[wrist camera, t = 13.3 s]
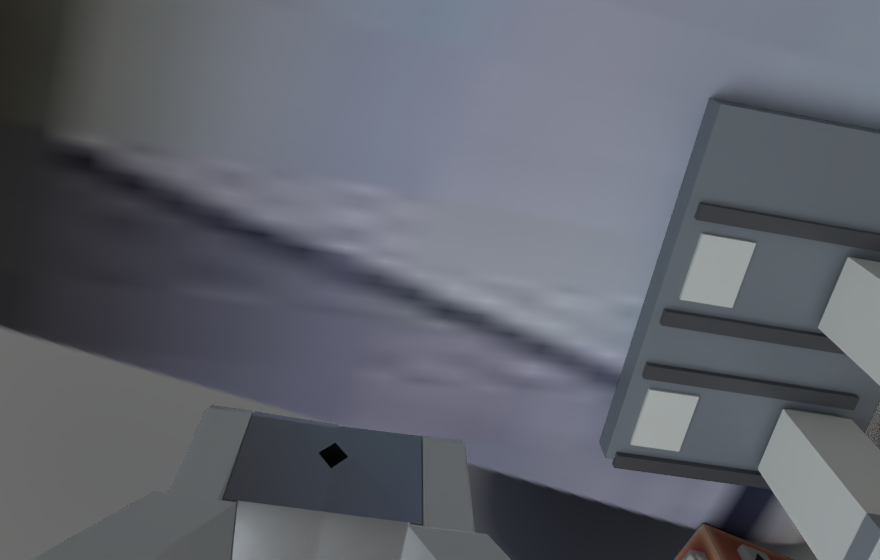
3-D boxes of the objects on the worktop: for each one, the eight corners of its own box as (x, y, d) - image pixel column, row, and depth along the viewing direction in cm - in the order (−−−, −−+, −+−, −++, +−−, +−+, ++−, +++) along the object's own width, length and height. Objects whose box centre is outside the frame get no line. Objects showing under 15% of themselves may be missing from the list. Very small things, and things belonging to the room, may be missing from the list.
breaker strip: (709, 98, 37) (851, 169, 25) (976, 148, 38) (1233, 239, 26) (598, 446, 44) (665, 628, 32) (822, 477, 46) (966, 663, 34)
